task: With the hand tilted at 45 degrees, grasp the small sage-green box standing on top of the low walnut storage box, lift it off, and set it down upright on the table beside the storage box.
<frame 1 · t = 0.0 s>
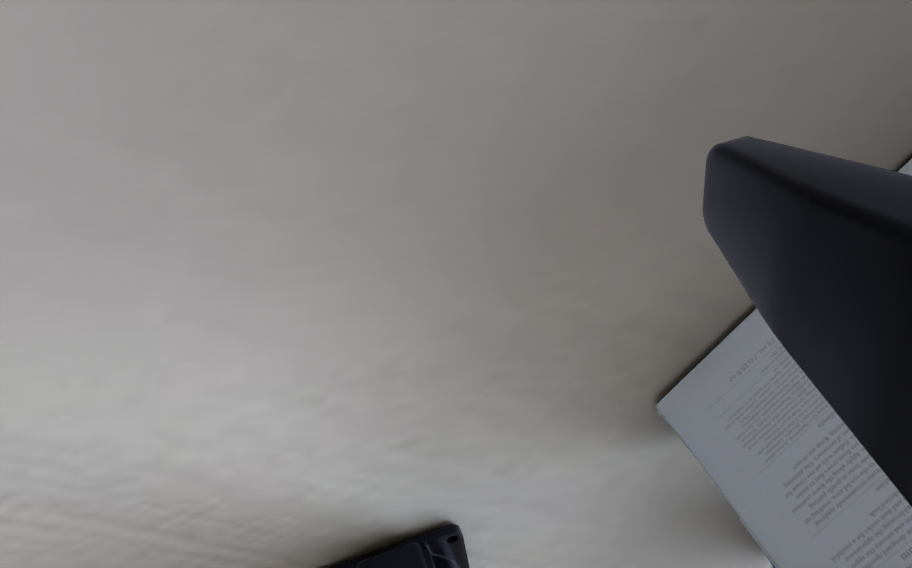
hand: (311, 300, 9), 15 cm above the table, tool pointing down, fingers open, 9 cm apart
skincare box: (866, 246, 34), on the table
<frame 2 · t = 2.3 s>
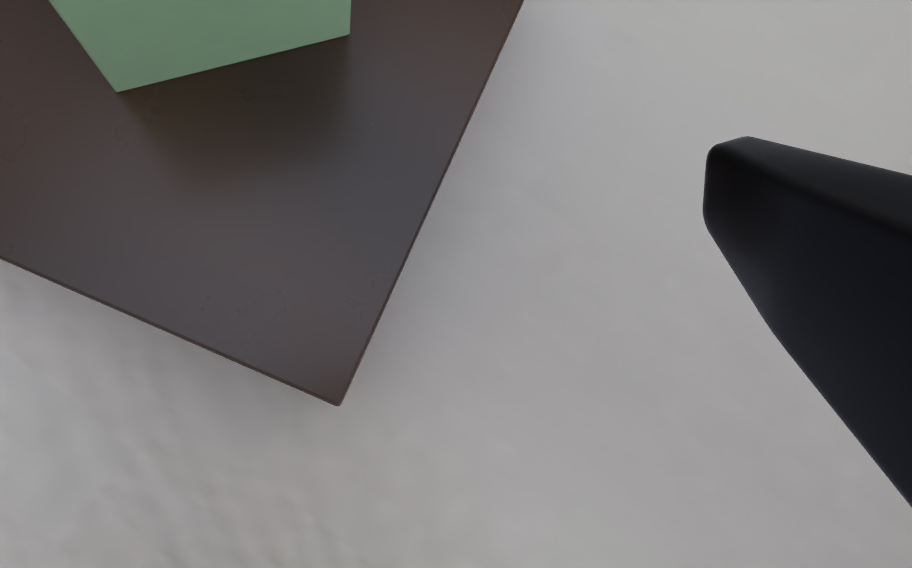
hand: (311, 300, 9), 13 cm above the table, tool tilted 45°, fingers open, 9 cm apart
storage box: (238, 98, 22), on the table
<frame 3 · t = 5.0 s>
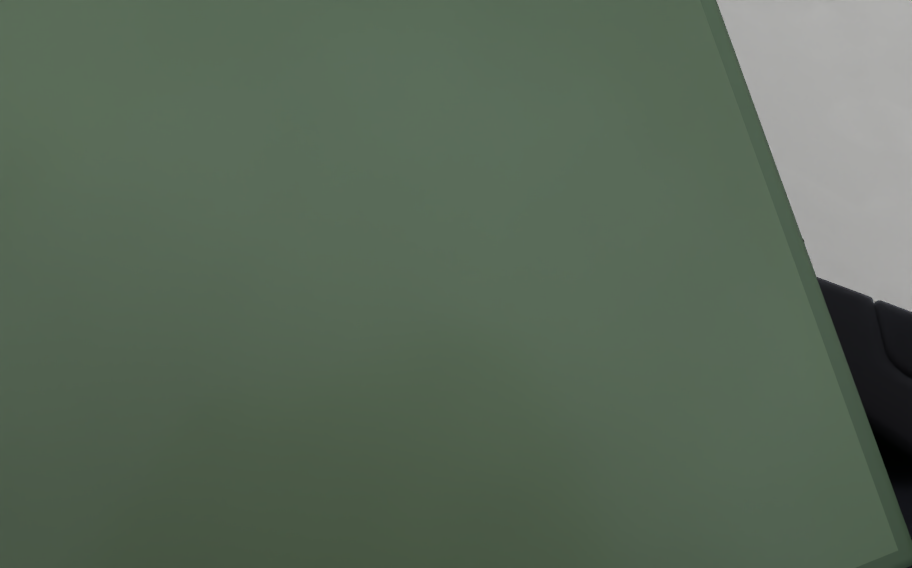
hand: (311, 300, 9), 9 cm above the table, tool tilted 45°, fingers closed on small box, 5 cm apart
small box: (322, 345, 13), point 4 cm above the table, touching gripper, storage box
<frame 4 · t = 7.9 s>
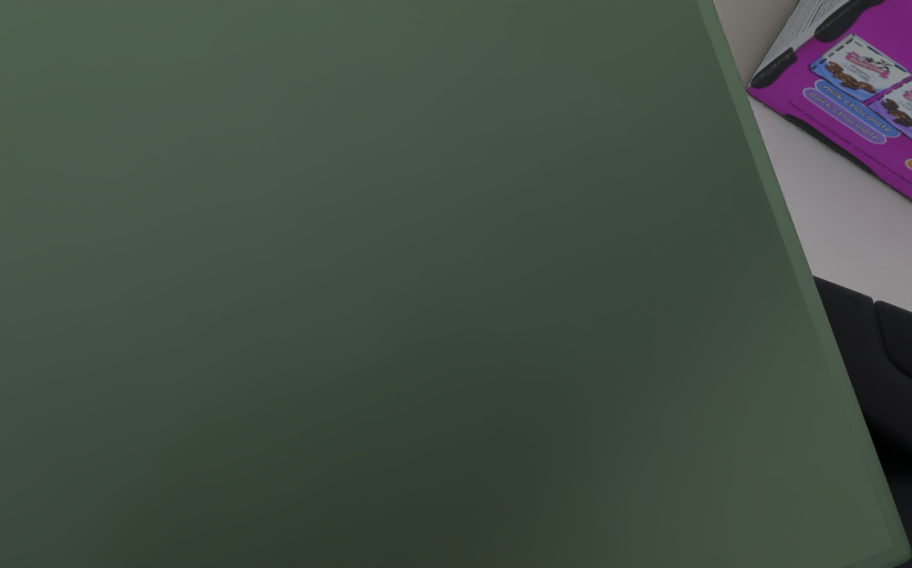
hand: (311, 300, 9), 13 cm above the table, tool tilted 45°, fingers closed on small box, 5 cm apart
small box: (320, 344, 13), point 9 cm above the table, touching gripper
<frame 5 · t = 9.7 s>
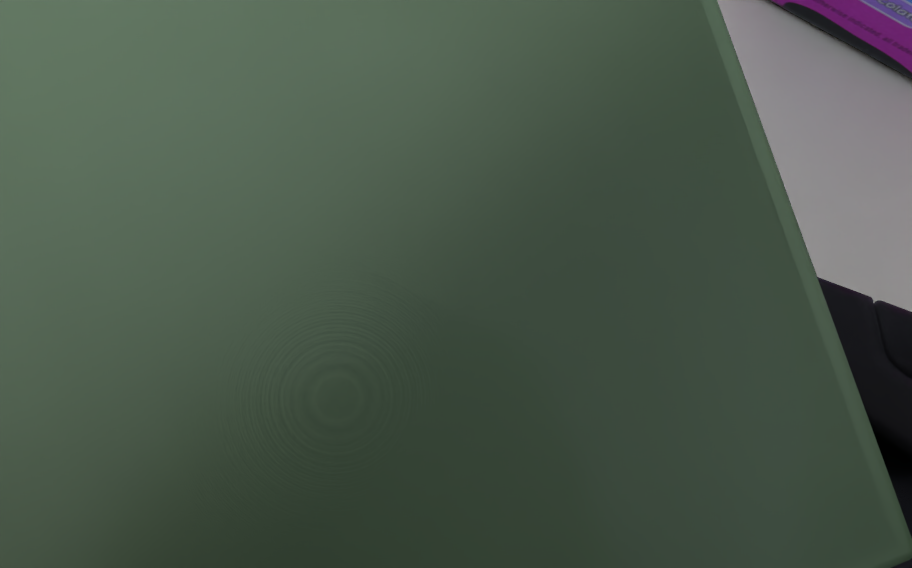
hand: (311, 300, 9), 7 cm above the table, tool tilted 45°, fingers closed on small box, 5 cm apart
small box: (321, 343, 13), point 3 cm above the table, touching gripper
when the fingers open (4 cm above the table, at t = 11.0 s): small box stays where it is, on the table.
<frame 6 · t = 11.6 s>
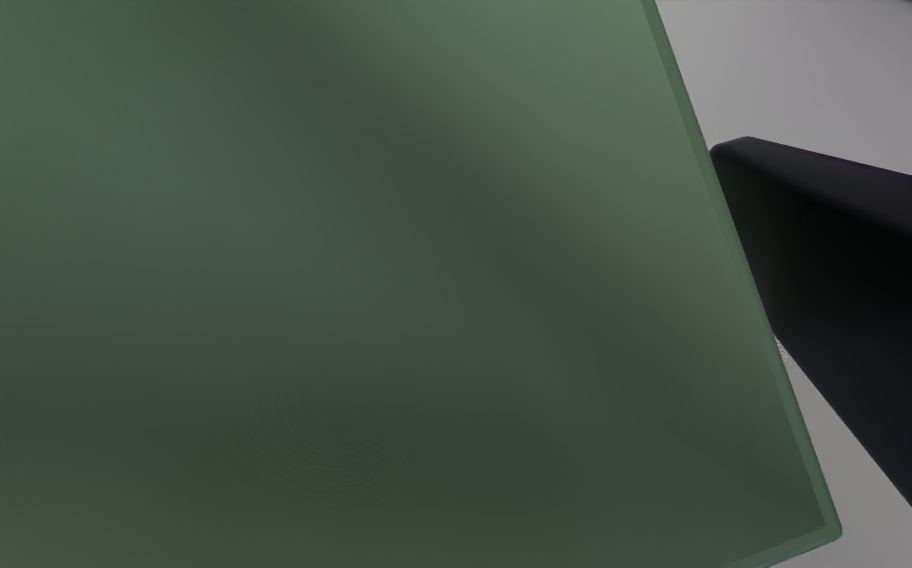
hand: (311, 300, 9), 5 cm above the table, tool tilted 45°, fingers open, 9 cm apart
small box: (323, 346, 14), on the table
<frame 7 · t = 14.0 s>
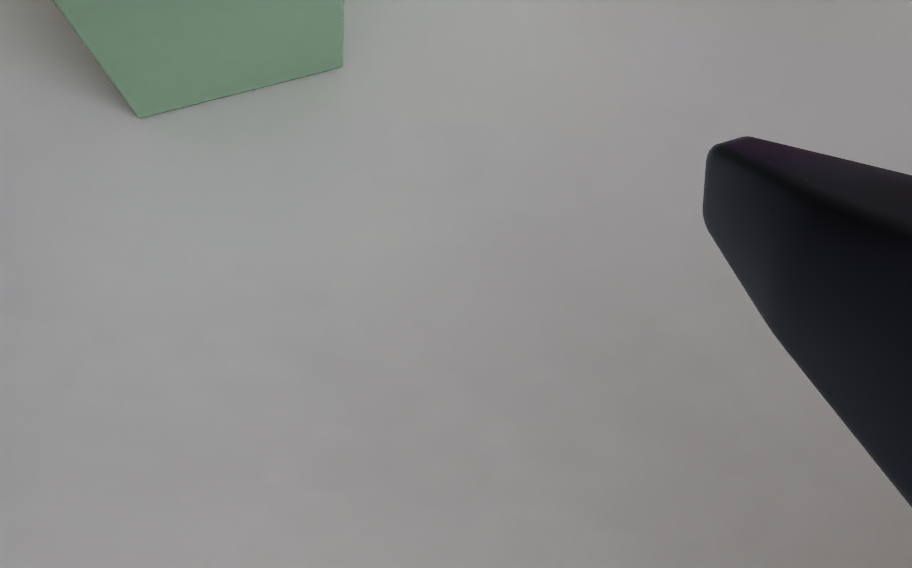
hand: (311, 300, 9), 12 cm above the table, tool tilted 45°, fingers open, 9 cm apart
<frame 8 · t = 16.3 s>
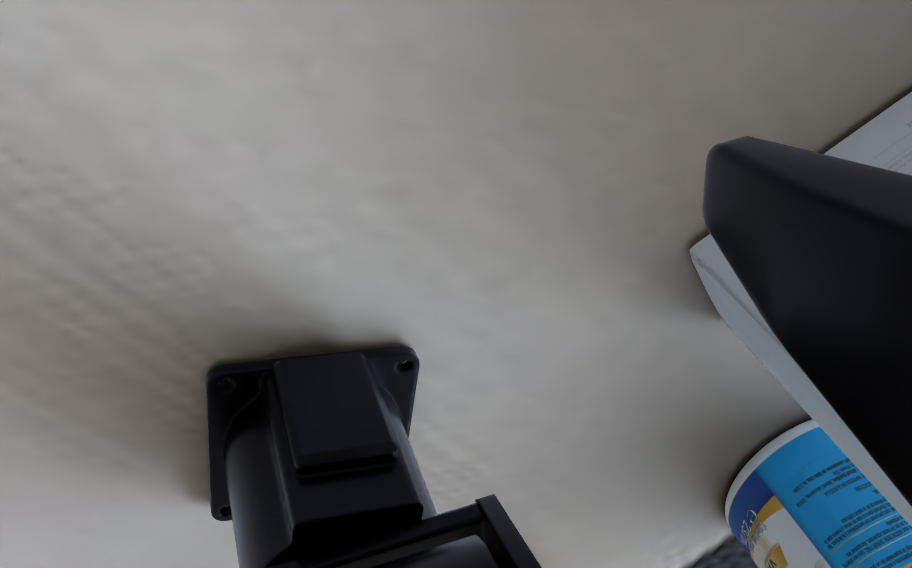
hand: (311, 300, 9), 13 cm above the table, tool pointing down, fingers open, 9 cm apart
blue lidded canister: (794, 468, 40), on the table
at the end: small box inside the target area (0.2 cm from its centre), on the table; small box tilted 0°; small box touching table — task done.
